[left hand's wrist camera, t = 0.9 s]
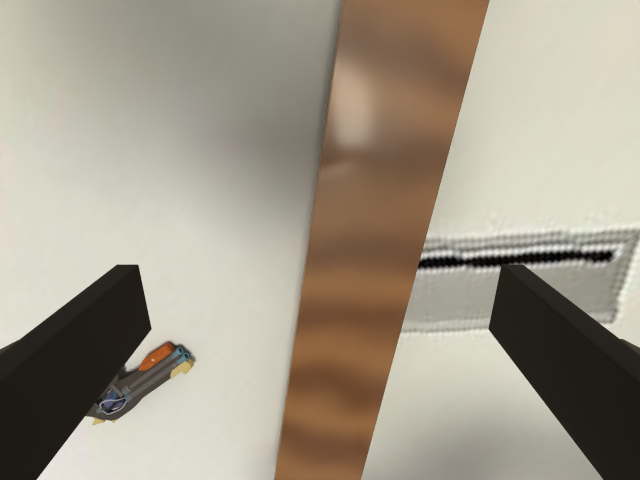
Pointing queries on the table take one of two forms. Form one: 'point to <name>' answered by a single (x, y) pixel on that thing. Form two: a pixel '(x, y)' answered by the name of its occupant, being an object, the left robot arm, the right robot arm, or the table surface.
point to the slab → (370, 219)
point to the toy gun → (140, 382)
